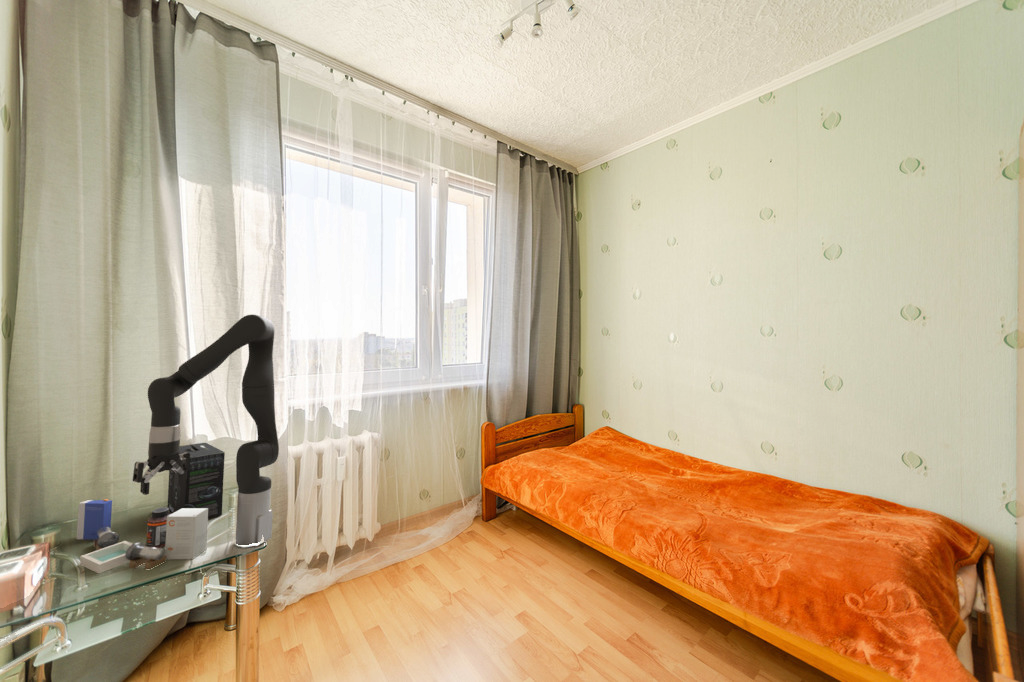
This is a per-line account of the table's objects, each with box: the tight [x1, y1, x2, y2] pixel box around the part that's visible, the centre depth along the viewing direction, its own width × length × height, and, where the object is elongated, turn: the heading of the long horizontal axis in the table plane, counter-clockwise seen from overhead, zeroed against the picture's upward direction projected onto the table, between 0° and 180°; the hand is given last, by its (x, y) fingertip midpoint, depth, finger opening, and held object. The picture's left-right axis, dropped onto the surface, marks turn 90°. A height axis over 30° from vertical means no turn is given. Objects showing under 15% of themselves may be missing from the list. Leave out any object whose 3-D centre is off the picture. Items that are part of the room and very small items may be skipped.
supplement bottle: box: [145, 506, 171, 548], centre depth 126 cm, size 6×6×11 cm
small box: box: [164, 508, 209, 560], centre depth 121 cm, size 8×6×13 cm
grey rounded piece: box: [125, 541, 167, 570], centre depth 115 cm, size 9×5×6 cm, turn 83°
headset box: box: [167, 442, 226, 520], centre depth 150 cm, size 22×12×26 cm, turn 53°
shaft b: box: [92, 527, 120, 551], centre depth 123 cm, size 9×5×6 cm, turn 53°
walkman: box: [76, 498, 113, 540], centre depth 128 cm, size 8×3×12 cm, turn 94°
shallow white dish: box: [79, 540, 133, 574], centre depth 116 cm, size 10×10×2 cm
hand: (161, 489), depth 126 cm, fingers open, 8 cm apart
